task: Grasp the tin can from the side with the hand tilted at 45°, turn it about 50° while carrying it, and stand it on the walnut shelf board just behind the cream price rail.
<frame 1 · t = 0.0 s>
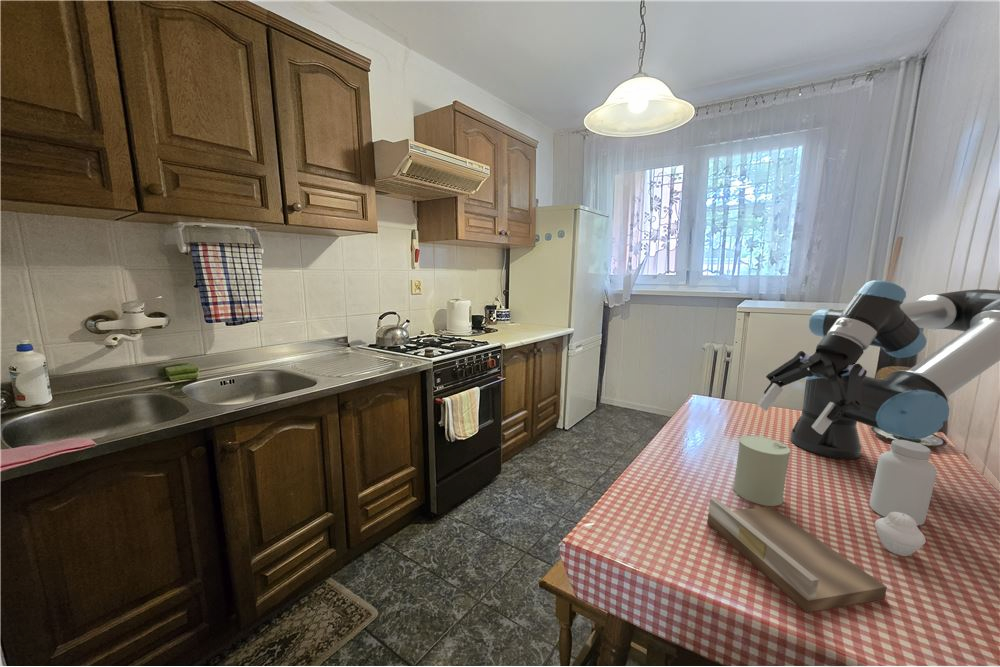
hand: (787, 418, 87), 15 cm above the table, tool tilted 35°, fingers open, 13 cm apart
pill bottle: (895, 515, 78), on the table
muffin: (895, 550, 68), on the table
can: (757, 494, 85), on the table
shelf: (784, 555, 66), on the table
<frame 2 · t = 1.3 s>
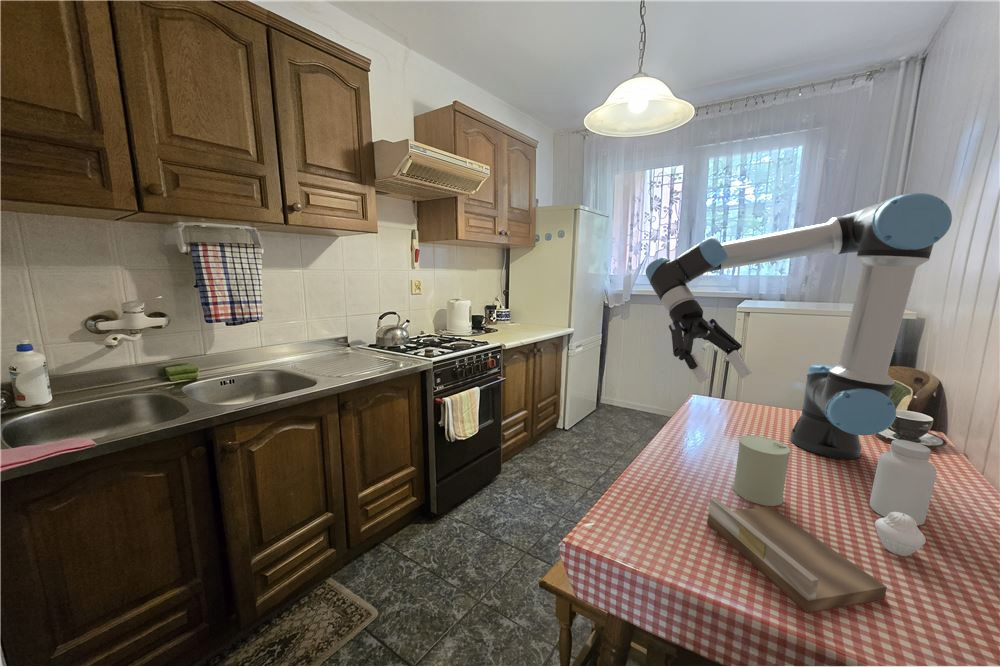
hand: (726, 378, 91), 23 cm above the table, tool tilted 45°, fingers open, 13 cm apart
nothing on the table moved.
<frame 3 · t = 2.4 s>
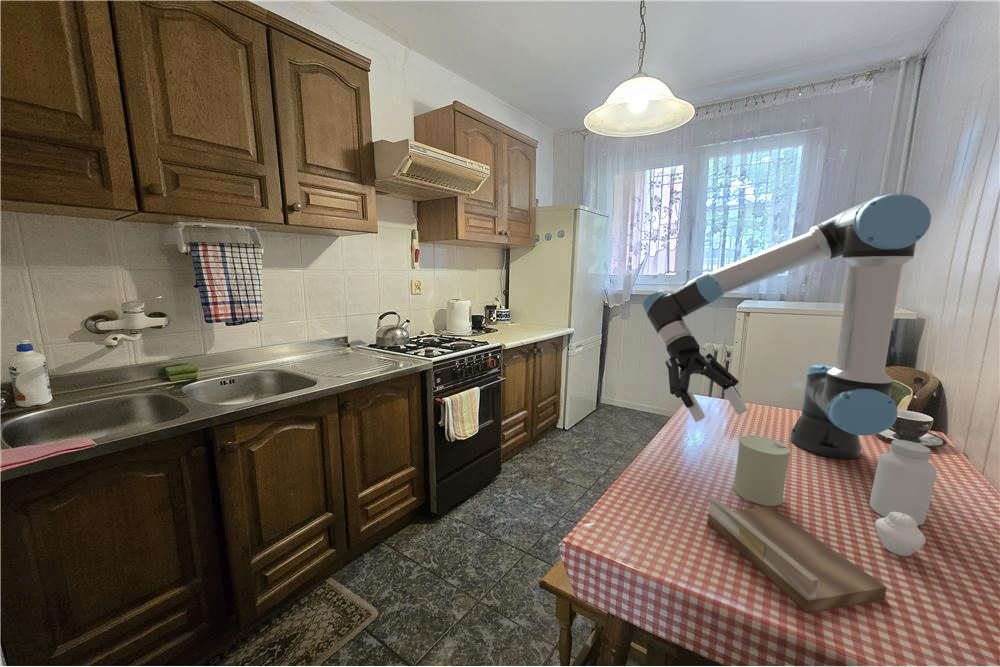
hand: (722, 416, 91), 14 cm above the table, tool tilted 45°, fingers open, 13 cm apart
nothing on the table moved.
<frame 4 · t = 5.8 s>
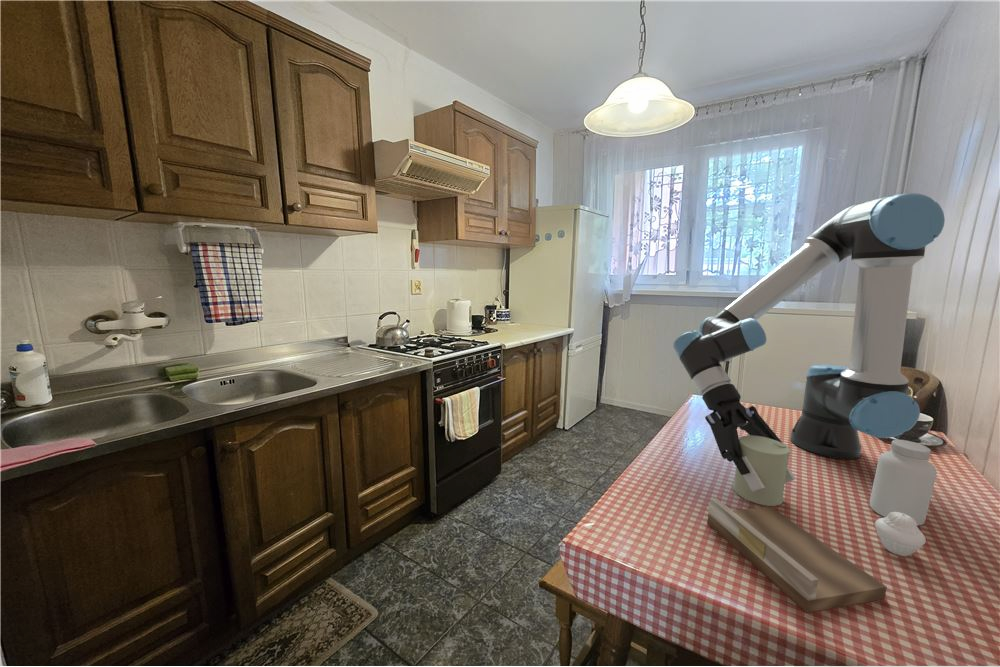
hand: (774, 485, 81), 4 cm above the table, tool tilted 45°, fingers closed on can, 9 cm apart
can: (757, 494, 85), on the table, touching gripper
everything else where it was.
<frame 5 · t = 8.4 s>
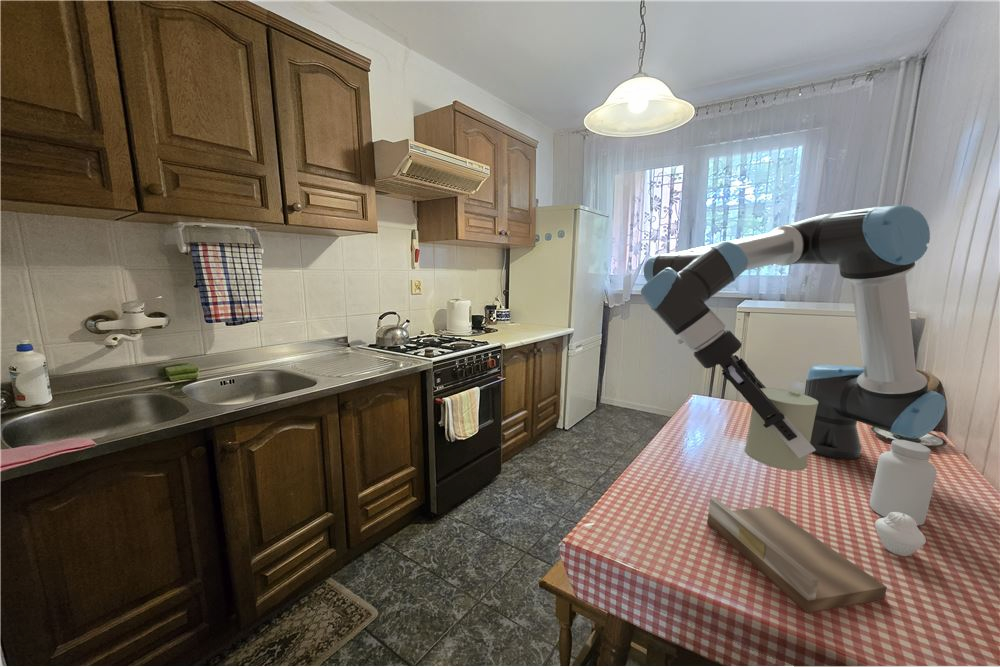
hand: (801, 442, 67), 19 cm above the table, tool tilted 45°, fingers closed on can, 9 cm apart
can: (774, 458, 69), point 15 cm above the table, touching gripper
everything else where it was.
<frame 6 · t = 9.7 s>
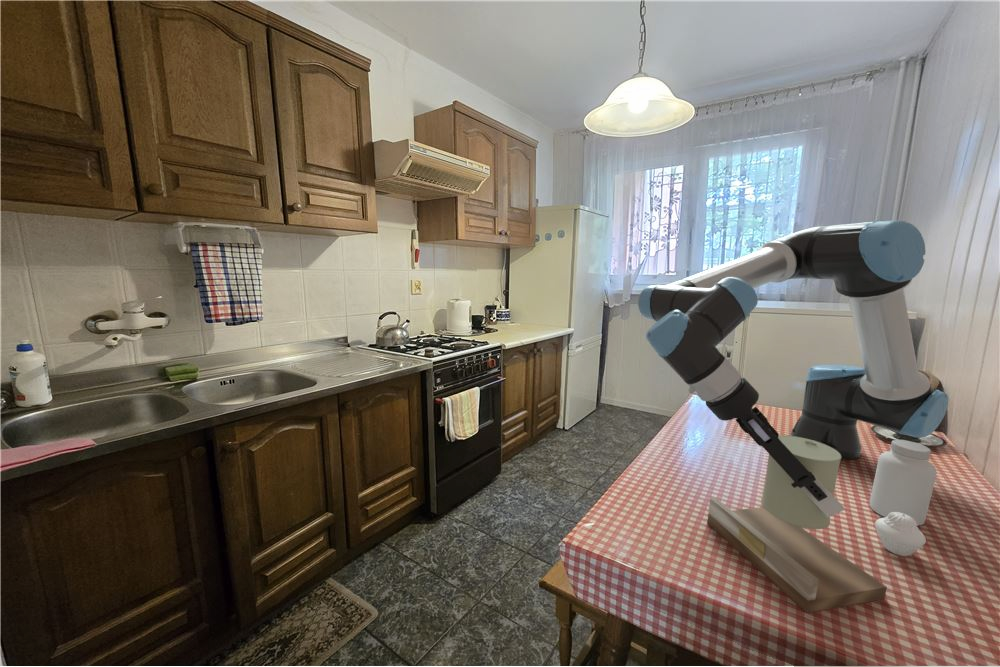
hand: (821, 495, 63), 12 cm above the table, tool tilted 45°, fingers closed on can, 9 cm apart
can: (793, 512, 65), point 8 cm above the table, touching gripper
everything else where it was.
when the fingers open (7 cm above the table, at t = 11.1 s): can stays where it is, resting on shelf.
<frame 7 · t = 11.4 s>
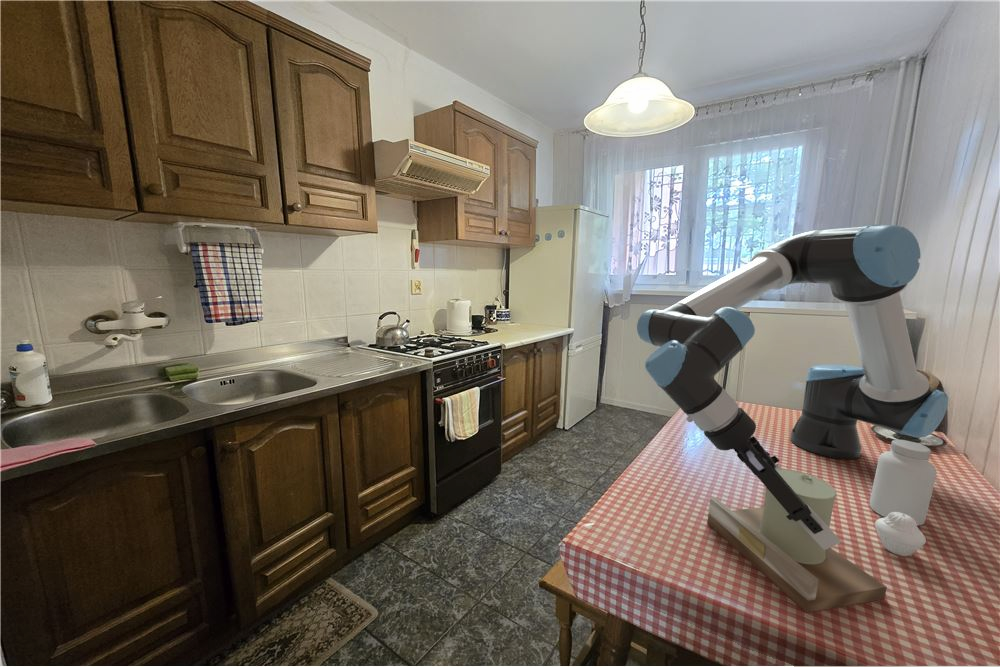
hand: (813, 518, 64), 8 cm above the table, tool tilted 45°, fingers open, 12 cm apart
can: (790, 545, 66), point 2 cm above the table, touching shelf
everything else where it was.
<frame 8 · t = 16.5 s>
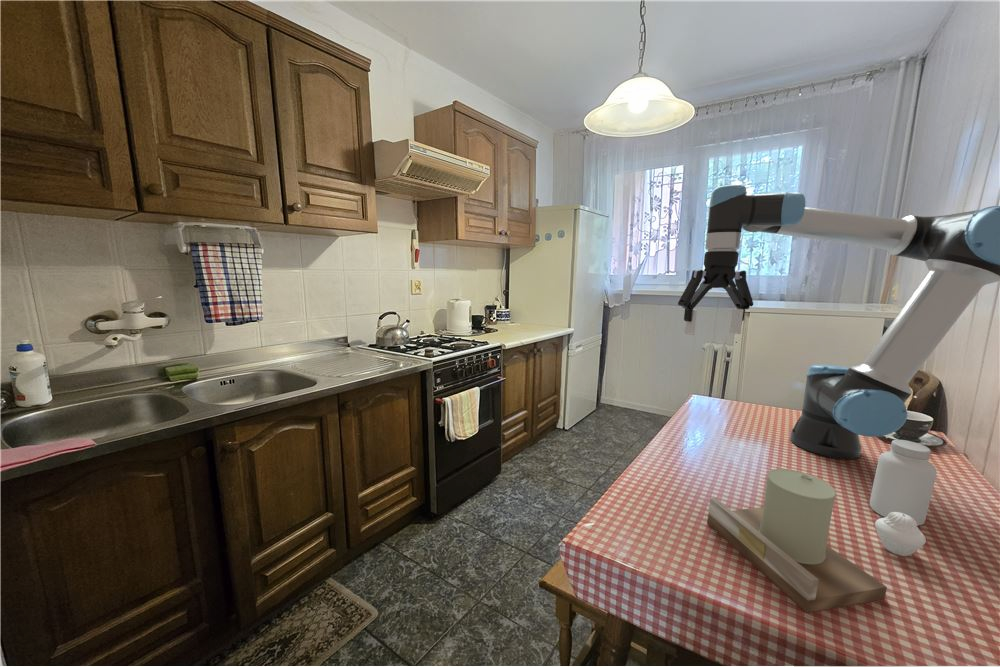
hand: (712, 333, 101), 32 cm above the table, tool pointing down, fingers open, 13 cm apart
nothing on the table moved.
at the end: can inside the target area on the shelf (0.4 cm from its centre), point 1.8 cm above the shelf's base; can tilted 0°; the gripper is holding nothing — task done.
